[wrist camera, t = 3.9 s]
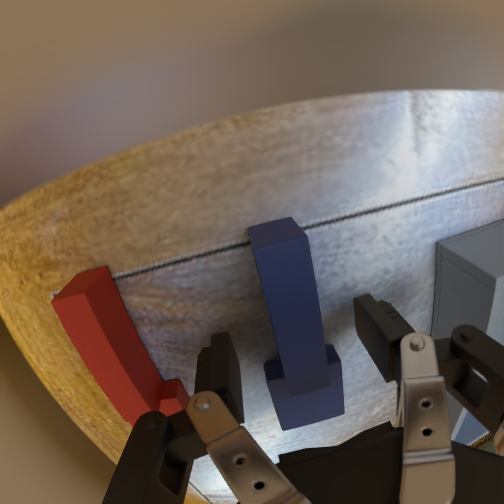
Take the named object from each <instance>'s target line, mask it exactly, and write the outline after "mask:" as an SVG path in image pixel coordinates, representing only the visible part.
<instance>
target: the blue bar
mask: <svg viewBox="0 0 504 504" xmlns="http://www.w3.org/2000/svg"><path fill="white" fill-rule="evenodd" d="M248 233H249V237H250V242H251V246H252V250H253V254H254V258H255V262H256V266H257V269H258V273H259V277H260V281H261V285H262V289H263V293H264V297H265V301H266V304H267V308H268V312H269V316H270V320H271V324H272V328H273V332H274V336H275V339H276V343H277V347H278V351H279V355H280V359H278V360H274V361H270V362H265V363H264V371H265V377H266V382H267V385H268V388H269V392H270V395H271V398H272V401H273V404H274V407H275V410H276V413H277V416H278V419H279V422H280V425H281V428H282V430H283V431H285V430H289V429H293V428H297V427H301V426H305V425H309V424H313V423H316V422H320V421H323V420H327V419H330V418H333V417H337V416H340V415H343V414H344V413H345V411H344V394H343V380H342V367H341V360H340V358H339V356H338V354H337V352H336V350H335V348H334V346H333V345H329V346H325V341H324V334H323V327H322V320H321V313H320V306H319V300H318V294H317V288H316V281H315V275H314V270H313V264H312V258H311V252H310V247H309V242H308V236H307V235H306V234H305V233H304V231H303V230H302V229H301V228H300V227H299V226H298V224H297V223H296V222H295V221H294V220H293V219H292V217H288V218H284V219H280V220H276V221H272V222H268V223H264V224H260V225H256V226H252V227H248Z"/></svg>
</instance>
